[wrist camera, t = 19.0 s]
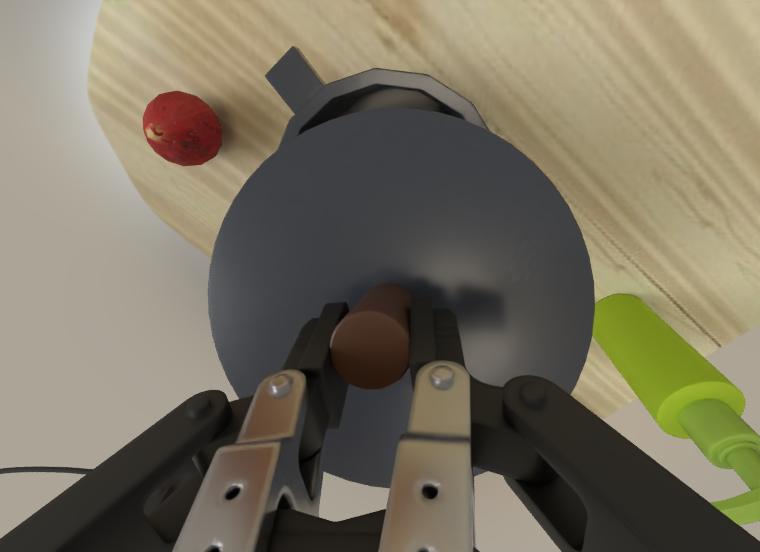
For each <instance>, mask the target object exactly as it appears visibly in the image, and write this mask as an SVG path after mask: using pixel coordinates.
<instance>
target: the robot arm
mask: <svg viewBox="0 0 760 552" xmlns="http://www.w3.org/2000/svg"><path fill="white" fill-rule="evenodd" d="M349 312H350V311H349V306H348V304H347V302H338V303H326V304H325V305H324V308H323V310H322V312H321V315H320V317H319V318H312V319H311V320H310V321H308V322H307V323H306V324H305V325H304V326H303V327H302V329H301V331H300V333H299V335H298V338H297V339H296V341H295V343H294V346H293V347H292V349H291V351H290V353H289V355H288V357H287V360H286V362H285V364H284V366H283V368H282V370H281V371H278V372H275V373H273V374H271V375H269V376H268V377H266V378H265V379H264V380H263V381H262V382H261V383H260V384H259V386H258V388H257V390H256V392H255V395H252V396H249V397H245V398H242V399H239V400H235V401H231V402H229V401H228V399H227V396H226V394H225V393H224V392H222V391H220V390H208V391H204V392H201V393H198V394H196V395H194V396H192V397H191V398H189V399H187V400H186V401H185V402H183V403H182V404H181V405H179V406H178V407H177V408H175V409H174V410H173V411H171V412H170V413H169V414H167V415H166V416H165V417H163V418H162V419H160V420H159V421H158V422H156V423H155V424H154V425H152V426H151V427H150V428H148V429H147V430H146V431H144V432H143V433H142V434H140V435H139V436H138V437H137V438H135V439H134V440H132V441H131V442H130V443H128V444H127V445H126V446H124V447H123V448H122V449H120V450H119V451H118V452H116V453H115V454H114V455H112V456H111V457H109V458H108V459H107V460H105V461H104V462H103V463H101V464H100V465H99V466H97V467H96V468H95V469H82V468H69V467H16V468H3V469H0V474H3V473H13V472H14V473H15V472H64V473H76V474H87V475H85V476H84V477H83V478H81V479H80V480H79V481H77V482H76V483H75V484H73V485H72V486H71V487H69V488H68V489H67V490H66V491H64V492H63V493H61V494H60V495H59V496H57V497H56V498H55V499H53V500H52V501H50V502H49V503H48V504H46V505H45V506H44V507H42V508H41V509H40V510H38V511H37V512H36V513H34V514H33V515H32V516H30V517H29V518H28V519H27V520H25V521H24V522H22V523H21V524H20V525H18V526H17V527H16V528H14V529H13V530H12V531H10V532H9V533H8V534H6V535H5V536H4V537H2V538H1V539H0V552H479V551H478V550H477V549H476V532H475V500H474V499H475V498H474V467H476V468H480V469H483V470H486V471H490V472H493V473H497V474H500V475H503V477H504V479H505V481H506V482H507V484H508V485H509V486H510V488H511V489H512V490H513V491H514V493H515V494H516V495H517V496H518V497H519V499H520V500H521V501H522V503H523V504H524V505H525V506H526V508H527V509H528V510H529V511H530V513H531V514H532V515H533V516H534V518H535V519H536V520H537V521H538V523H539V524H540V525H541V526H542V528H543V529H544V530H545V531H546V533H547V534H548V535H549V536H550V538H551V539H552V540H553V541H554V543H555V544H556V545H557V546H558V548H559V549H560V550H561V551H562V552H760V541H758V540H757V539H756V538H755V537H753V536H752V535H750V534H749V533H748V532H747V531H746V530H744V529H743V528H742V527H740V526H739V525H738V524H736V523H735V522H734V521H733V520H731V519H730V518H729V517H727V516H726V515H725V514H724V513H722V512H721V511H720V510H718V509H717V508H716V507H714V506H713V505H712V504H711V503H709V502H708V501H707V500H705V499H704V498H703V497H701V496H700V495H699V494H698V493H696V492H695V491H694V490H692V489H691V488H690V487H689V486H687V485H686V484H685V483H683V482H682V481H680V480H679V479H678V478H677V477H676V476H674V475H673V474H672V473H670V472H669V471H668V470H666V469H665V468H664V467H663V466H661V465H660V464H659V463H657V462H656V461H655V460H653V459H652V458H651V457H650V456H648V455H647V454H646V453H644V452H643V451H642V450H641V449H639V448H638V447H637V446H635V445H634V444H633V443H631V442H630V441H629V440H627V439H626V438H625V437H624V436H622V435H621V434H620V433H618V432H617V431H616V430H615V429H613V428H612V427H611V426H609V425H608V424H607V423H605V422H604V421H603V420H602V419H600V418H599V417H598V416H596V415H595V414H594V413H593V412H591V411H590V410H589V409H587V408H586V407H585V406H583V405H582V404H581V403H580V402H578V401H577V400H576V399H574V398H573V397H572V396H571V395H569V394H568V393H567V392H565V391H564V390H563V389H561V388H560V387H559V386H558V385H556V384H555V383H553V382H552V381H550V380H548V379H545V378H543V377H539V376H533V375H522V376H517V377H514V378H512V379H510V380H509V381H507V382H506V383H505V385H504V387H499V386H494V385H490V384H486V383H483V382H481V381H479V380H477V379H475V378H474V377H473V376H472V375H470V373H469V372H468V371H467V369H466V366H465V361H464V356H463V350H462V345H461V339H460V334H459V328H458V323H457V317H456V315H455V314H454V313H453V312H452V311H451V310H450V309H449V308H440V309H433V303H432V295H424V296H412V297H411V308H410V345H409V366H410V374H411V381H412V388H413V398H412V404H411V410H410V416H409V422H408V429H407V433H406V434H404V433H402V434H401V436H400V439H399V443H398V448H397V453H396V459H395V464H394V470H393V475H392V481H391V486H390V491H389V498H388V503H387V508H386V509H384V510H380V511H377V512H373V513H369V514H365V515H361V516H358V517H354V518H350V519H346V520H343V521H338V522H333V521H329V520H326V519H322V518H319V504H320V496H321V488H322V479H323V472H324V464H325V456H326V445H325V441H324V438H325V434H326V430H327V429H339V425H340V421H341V416H342V412H343V408H344V403H345V399H346V395H347V390H348V386H349V383H347V382H346V381H345V380H343V379H342V378H341V377H340V375H339V374H338V373H337V371H336V370H335V368H334V366H333V364H332V361H331V357H330V346H329V345H330V339H331V335H332V333H333V331H334V329H335V327H336V326H337V325H338V323H339V322H340V321H341V320H342V319H343V318H344V317H345V316H346V315H347V314H348V313H349Z"/></svg>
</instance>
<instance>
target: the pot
mask: <svg viewBox="0 0 760 552" xmlns="http://www.w3.org/2000/svg"><path fill="white" fill-rule="evenodd" d="M265 77H266V79H267V80H268V81H269V82H270V84H271V85H272V86H273V87H274V89H275V90H276V91H277V92H278V94H279V95H280V96H281V97H282V99H283V100H284V101H285V102H286V103H287V105H288V106H289V107H290V108H291V110H292V111H293V112H294V113H295V115H294V116H293V117H292V118H291V119H290V120H289V122H288V125H287V127H286V130H285V132H284V135H283V137H282V140H281V142H280V145H279V147H278V149H279V148H281V147H282V146H283V145H284V144H286V143H287V142H289V141H291V140H292V139H294V138H295V137H297V136H299V135H300V134H302V133H303V132H305V131H307V130H309V129H311V128H313V127H316V126H318V125H320V124H322V123H324V122H327V121H329V120H332V119H335V118H339V117H342V116H345V115H349V114H352V113H356V112H363V111H369V110H376V109H398V108H409V109H417V110H425V111H433V112H438V113H442V114H445V115H449V116H453V117H457V118H460V119H463V120H466V121H468V122H470V123H473V124H475V125H477V126H480V127H482V128H484V129H487V130H489V129H488V127H487V126H486V124H485V122H484V121H483V119H482V118H481V116H480V115H479V113H478V111H477V110H476V108H475V107H474V105H473V104H472V103H471V102H470V101H468V100H467V99H465V98H464V97H462V96H461V95H459V94H457V93H456V92H454V91H453V90H451V89H450V88H448V87H447V86H445V85H444V84H442V83H440V82H439V81H437V80H436V79H434V78H433V77H431V76H430V75H427V74H420V73H412V72H404V71H396V70H389V69H381V68H373V69H370V70H367V71H364V72H361V73H358V74H355V75H352V76H349V77H346V78H343V79H340V80H337V81H334V82H332V83H329V84H325V83H324V82H323V80H322V79H321V78H320V76H319V75H318V74H317V72H316V71H315V70H314V68H313V67H312V66H311V64H310V63H309V62H308V60H307V59H306V58H305V56H304V55H303V54H302V52H301V51H300V50H299V48H297V47H294V46H292V47H291V48H290V49H289V50H288V51H287V53H286V54H285V55H284V56H283V57H282V58H281V59H280V60H279V61H278V62H277V63H276V64H275V65H274V66H273V67H272V68H271V69H270V71H269V72H268V73H267V74H266V75H265ZM489 131H490V130H489Z"/></svg>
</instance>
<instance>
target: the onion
mask: <svg viewBox="0 0 760 552" xmlns="http://www.w3.org/2000/svg"><path fill="white" fill-rule="evenodd" d="M143 130H144V133H145V136H146V139H147V141H148V143H149V144H150V146H151V147H152V148H153V150H154V151H155V152H156V153H157V154H159V155H160V156H161V157H163V158H164V159H166V160H167V161H169V162H172V163H176V164H179V165H182V166H193V165H202V164H203V163H205V162H207V161H209V160H210V159H212V158H214V157H215V156H216V155H217V153H218V151H219V149H220V148H221V146H222V128H221V125H220V123H219V120H218V117H217V116H216V114H215V113H214V112H213V110H212V109H211V108H210V106H209V105H208V104H207V103H205V102H204V101H202V100H201V99H200V98H198V97H197V96H194V95H191V94H187V93H184V92H180V91H173V92H167V93H163V94H159V95H158V96H157V97H156V98H155V99H154V100H152V101H151V102H150V103H149V104H148V106H147V108H146V111H145V113H144V116H143Z"/></svg>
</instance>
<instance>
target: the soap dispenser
mask: <svg viewBox="0 0 760 552" xmlns="http://www.w3.org/2000/svg"><path fill="white" fill-rule="evenodd" d="M592 335H593V337H594V338H595V339H596V341H597V342H598V344H599V345H600V346H601V348H602V349H603V350H604V352H605V353H606V354H607V356H608V357H609V358H610V360H611V361H612V363H613V364H614V365H615V367H616V368H617V369H618V371H619V372H620V373H621V375H622V376H623V377H624V379H625V380H626V382H627V383H628V384H629V386H630V387H631V388H632V390H633V391H634V392H635V394H636V395H637V396H638V398H639V399H640V400H641V402H642V403H643V405H644V406H645V407H646V409H647V410H648V411H649V413H650V414H651V415H652V417H653V418H654V420H655V421H656V422H657V424H658V425H659V426H660V428H661V429H662V430H663V431H664V432H666V433H667V434H669V435H672V436H674V437H678V438H685V439H692V440H693V441H694V443H695V444H696V445H697V446H698V448H699V449H700V450H701V451H702V452H703V454H704V455H705V456H706V458H707V459H708V460H709V461H710V462H711V463H712V464H713V465H715V466H718V467H720V468H725V469H734V470H735V472H736V473H737V474H738V475H739V476H740V477H741V479H742V480H743V481H744V482H745V483H746V485H747V486H748V487H749V488H750V489H751V491H749V492H747V493H744V494H742V495H739V496H736V497H733V498H730V499H727V500H723V501H718V502H712V503H711V504H712V505H713V506H714V507H716V508H717V509H718V510H720V511H721V512H722V513H724V514H725V515H726V516H727V517H729V518H730V519H731V520H733V521H734V522H735V523H736V524H738V525H742V524H748V523H753V522H757V521H760V436H759V435H758V434H757V433H756V432H755V431H754V430H753V429H752V428H751V427H750V426H749V425H748V424H747V423H746V422H745V421H744V420H743V419H742V418H741V417H740V416H741V415H742V413H743V411H744V408H745V398H744V395H743V394H742V392H741V391H740V390H739V389H738V388H737V387H736V386H735V385H734V384H732V383H731V382H730V381H729V380H728V379H727V378H726V377H725V376H724V375H723V374H721V373H720V372H719V371H718V370H717V369H716V368H715V367H714V366H713V365H712V364H710V363H709V362H708V361H707V360H706V359H705V358H704V357H703V356H702V355H701V354H699V353H698V352H697V351H696V350H695V349H694V348H693V347H692V346H691V345H690V344H688V343H687V342H686V341H685V340H684V339H683V338H682V337H681V336H680V335H679V334H677V333H676V332H675V331H674V330H673V329H672V328H671V327H670V326H669V325H668V324H666V323H665V322H664V321H663V320H662V319H661V318H660V317H659V316H658V315H657V314H655V313H654V312H653V311H652V310H651V309H650V308H649V307H648V306H647V305H646V304H644V303H643V302H642V301H641V300H640V299H639V298H637V297H635V296H633V295H629V294H616V295H612V296H609V297H606V298H604V299H602V300H601V301H599V302H598V303H596V304H595V314H594V323H593V332H592Z"/></svg>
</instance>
